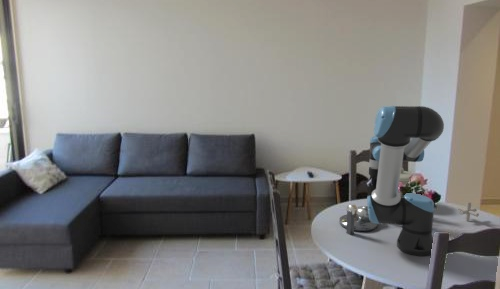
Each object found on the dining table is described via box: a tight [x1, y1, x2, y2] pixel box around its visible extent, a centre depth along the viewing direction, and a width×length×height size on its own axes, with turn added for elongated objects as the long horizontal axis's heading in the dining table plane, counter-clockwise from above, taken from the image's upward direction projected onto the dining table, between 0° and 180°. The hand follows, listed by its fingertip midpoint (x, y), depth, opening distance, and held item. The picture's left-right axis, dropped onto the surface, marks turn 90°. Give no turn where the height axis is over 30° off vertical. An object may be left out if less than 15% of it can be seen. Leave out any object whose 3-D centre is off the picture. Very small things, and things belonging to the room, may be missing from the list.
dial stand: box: [345, 204, 356, 236], centre depth 179 cm, size 5×2×14 cm, turn 33°
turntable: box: [339, 204, 378, 232], centre depth 190 cm, size 19×18×5 cm
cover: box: [357, 205, 370, 222], centre depth 192 cm, size 8×8×6 cm
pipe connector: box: [457, 201, 480, 223], centre depth 191 cm, size 10×10×10 cm
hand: (374, 212), depth 195 cm, fingers closed
